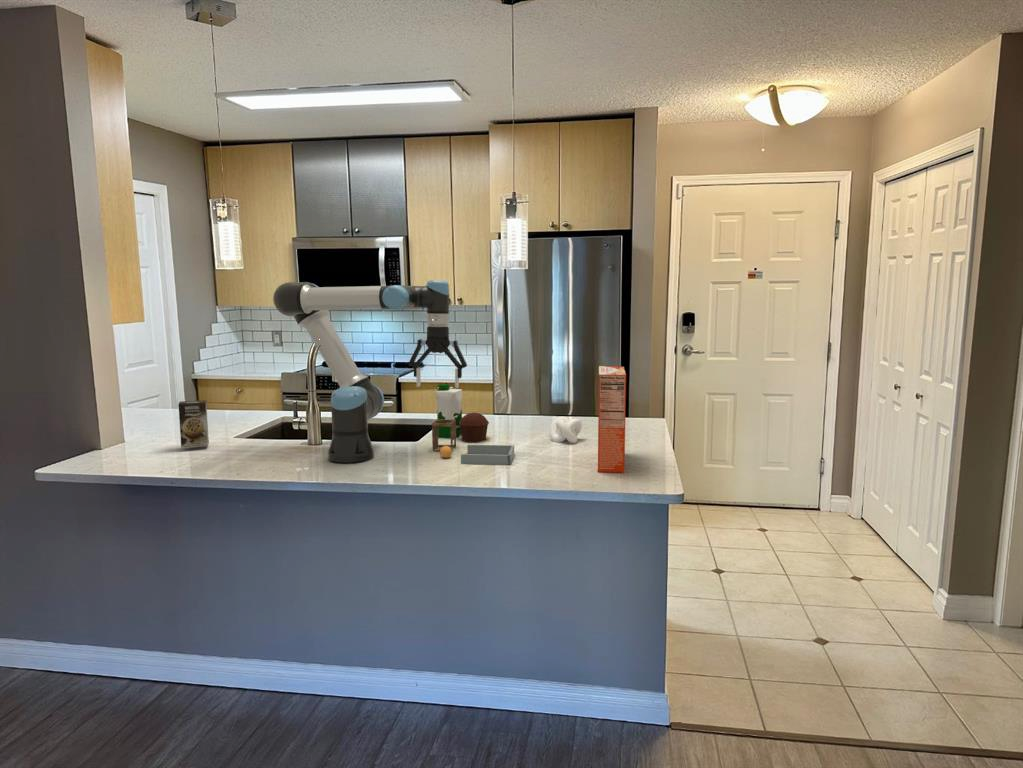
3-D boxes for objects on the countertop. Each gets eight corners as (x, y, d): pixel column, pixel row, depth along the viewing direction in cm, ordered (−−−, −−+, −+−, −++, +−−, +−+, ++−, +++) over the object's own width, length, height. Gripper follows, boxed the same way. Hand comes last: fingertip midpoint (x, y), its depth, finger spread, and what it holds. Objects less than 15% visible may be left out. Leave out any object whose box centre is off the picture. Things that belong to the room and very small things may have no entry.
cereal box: (597, 453, 229) (599, 366, 225) (622, 454, 228) (623, 366, 224) (597, 471, 207) (598, 374, 203) (624, 472, 206) (626, 374, 202)
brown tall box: (180, 448, 240) (177, 403, 238) (182, 444, 246) (179, 401, 244) (208, 446, 244) (205, 402, 242) (209, 442, 250) (206, 399, 248)
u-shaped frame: (460, 463, 217) (460, 454, 216) (467, 453, 231) (467, 444, 231) (510, 464, 215) (510, 455, 215) (514, 453, 229) (514, 445, 229)
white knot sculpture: (570, 437, 255) (570, 414, 254) (590, 443, 245) (590, 419, 244) (545, 441, 249) (545, 417, 248) (565, 447, 239) (565, 422, 238)
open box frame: (432, 451, 233) (431, 423, 232) (436, 446, 240) (436, 419, 239) (452, 452, 233) (452, 423, 231) (456, 447, 240) (455, 419, 238)
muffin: (484, 444, 245) (484, 417, 243) (455, 442, 247) (454, 416, 245) (491, 437, 256) (491, 411, 255) (463, 436, 258) (463, 410, 257)
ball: (437, 448, 223) (449, 445, 222) (439, 446, 227) (451, 443, 226) (440, 460, 223) (452, 457, 223) (442, 457, 227) (454, 454, 227)
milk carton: (443, 433, 263) (442, 382, 260) (465, 435, 260) (464, 383, 257) (434, 438, 255) (433, 385, 252) (456, 439, 252) (455, 386, 249)
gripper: (399, 325, 229) (399, 387, 232) (471, 327, 227) (471, 389, 230) (405, 324, 237) (405, 384, 240) (475, 326, 234) (474, 386, 237)
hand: (437, 387), depth 235 cm, fingers open, 13 cm apart
